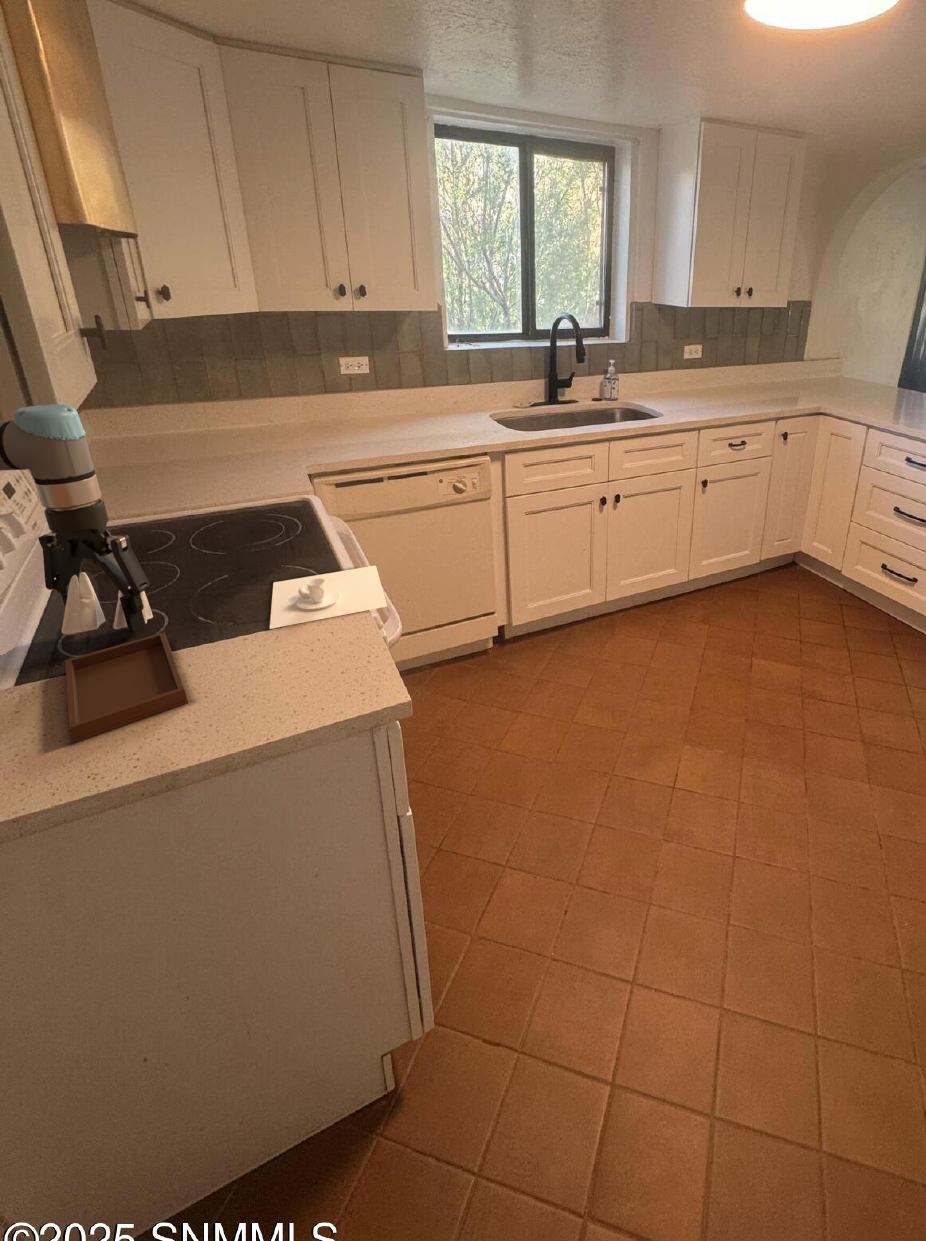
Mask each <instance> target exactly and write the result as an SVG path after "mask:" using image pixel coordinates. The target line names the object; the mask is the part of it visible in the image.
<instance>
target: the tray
mask: <svg viewBox="0 0 926 1241" xmlns="http://www.w3.org/2000/svg"><path fill="white" fill-rule="evenodd" d="M177 666H178V665H177V663H176V661H175V658H174V654H173V652H172V648H171V646H170V643H169V640H168V638H167V635H166V633H165V631H162V632H159V633H156V634H152V635H149V636H145V637H142V638H138V639H135V640H131V641H128V642H125V643H121V644H117V645H114V646H111V647H107V648H103V649H100V650H95V651H93V652H89V653H86V654H82V655H80V656H76V657H72V658H68V659H65V660H64V667H65V668H64V669H65V682H66V684H65V686H66V700H67V714H68V715H67V716H68V717H67V718H68V729H69V732H70V735H71V738H72V739H73V742H74V743H78V742H80V741H83V740H86V739H89V738H92V737H95V736H98V735H100V734H103V733H106V732H109V731H112V730H115V729H117V728H120V727H123V726H125V725H129V724H133V723H135V722H137V721H141V720H143V719H146V718H149V717H152V716H155V715H157V714H160V713H163V712H166V711H169V710H172V709H175V708H178V707H181V706H183V705H186V704H188V703H189V699H188V696H187V692H186V689H185V686H184V683H183V680H182V677H181V675H180V672H179V669H178V667H177Z"/></svg>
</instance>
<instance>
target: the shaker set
mask: <svg viewBox="0 0 926 1241" xmlns="http://www.w3.org/2000/svg"><path fill="white" fill-rule="evenodd" d="M128 588H130V586H129V587H128ZM140 595H141V599H142V602H143V606H144V608H143V610H142V613H143V616H144V620H145V625H147V623H148V620H150V619H153V618H154V615H153V612H152V609H151V606H150V603H149V600H148V597H147V595H146V592H145V591H143V592H141V593H140ZM122 596H124V595H123V594H122V593H121V591H120V590H119V589H118V594H117V597H118V598H117V603H116V609H115V614H114V620H113V624H112V629H114V630H120V629H123V628H128V626H127V622H126V619H125V615H124V612H123V608H122V605H121V601H120V597H122ZM64 609H65V610H64V613H63V620H62V626H61V631H60V632H61V633H62V634H63V635H66V636H75V635H82V634H86V633H87V634H88V633H91V632H96V631H98V630H99V627H100V626H101V625H102V624H103V623H105V622H106V618H105V614H104V612H103V609H102V607H101V604H100V601H99V599H98V597H97V594H96V592H95V589H94V586H93V585H92V583H91V581H90V578H89V576H88V575H87V573H86V572H82V571H81V572H79V576H78V578H77V576H76V575H74V576H72V578H71V580H70V583H69V588H68V596H67V602H66V607H65V606H64Z"/></svg>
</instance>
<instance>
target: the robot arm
mask: <svg viewBox="0 0 926 1241" xmlns="http://www.w3.org/2000/svg"><path fill="white" fill-rule="evenodd" d="M86 436H87V432H86V431H85V429H84V427H83V424H82V421H81V418H80V416H79V413H78V410H76V408H74V407H73V406H71V405H68V404H53V403H51V404H43V405H42V404H38V405H30V406H25V407H24V406H23V407H20V408H18V409H16V410H15V411H14V412H13V420H0V471H1V472H2V471H27V470H29V471H30V473H31V476H32V478H33V481H34V485H35V488H36V491H37V494H38V499H39V501H40V505H41V507H44V508H45V509H44V510H43V511H44V512H43V513H44V516H45V519H46V523H47V526H48V529H49V531H50V532H48V533H45V534H43V535H41V536H39V537H38V538H37V539H38V542H39V544H40V546H41V547H40V548H41V549H42V558H43V571H44V585H45V588H46V589H47V590H48V591H49V590H50V591H52V590H56V592H57V593H58V594H60V596H61V599H62V602H63V605H64V608H65V607H66V602H67V596H68V588H69V583H70V580H71V578H72V576H74V575H76V576H77V578H78V579H79V575H80V573H81V572H80V571H81V567H82V563H83V559H86V560H90V561H91V562H92V563H93V564H94V565H96V566H99V567H100V568H101V570H102V571H104V574H106V575H107V577H108V578H109V579H110V580H111V582H112V583H113V584H114V585H115V587H116V588H117V589H118V591H119V590H120V591H121V593H122V594H123V595H124V596H122V597H120V601H121V605H122V608H123V612H124V615H125V619H126V622H127V626H128V627H127V629H128V633H135V632H136V631H138V630H140V629H141V628H143V627H144V626H145V625H146V624H145V620H144V616H143V613H142V610H143V608H144V606H143V602H142V599H141V595H140V593H141V592H143V591H144V592H145V591H147V590H148V589H150V588H151V583H150V581H149V580H148V578H147V576H146V573H145V572H144V570H143V568H142V566H141V564H140V562H139V560H138V558H137V556H136V555H135V552H134V551H133V549H132V545H131V539H130V536H129V535H128V534H126V533H124V534H122V535H120V536H119V535H118V536H117V535H112V534H111V533H110V531H109V530H108V528H107V524H108V522H109V515H108V512H107V508H106V505H105V502H104V501H103V500H102V499H101V498H102V492H101V489H100V488H101V487H100V484H99V480H98V476H97V474H96V470H95V467H94V464H93V461H92V457H91V456H92V455H91V453H90V448H89V445H88V440H87V437H86ZM129 586H130V588H128V587H129Z"/></svg>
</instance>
